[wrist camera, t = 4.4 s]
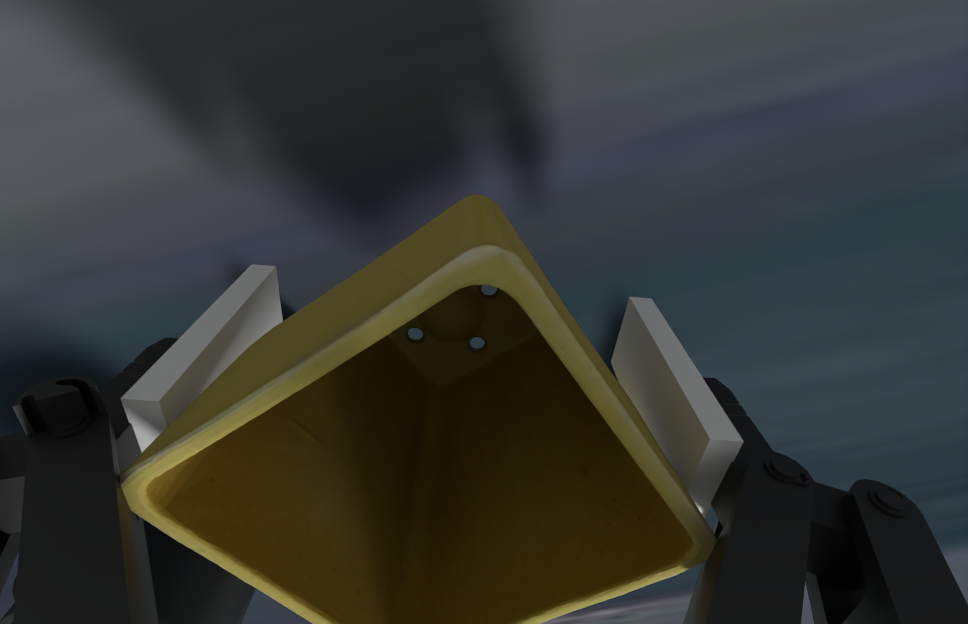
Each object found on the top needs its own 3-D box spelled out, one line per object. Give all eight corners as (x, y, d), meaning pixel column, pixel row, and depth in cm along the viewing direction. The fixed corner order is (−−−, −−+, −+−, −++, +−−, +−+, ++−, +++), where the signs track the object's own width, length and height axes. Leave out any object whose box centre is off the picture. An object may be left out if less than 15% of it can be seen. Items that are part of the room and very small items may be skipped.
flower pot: (488, 123, 14) (502, 234, 6) (620, 330, 18) (731, 563, 10) (275, 276, 16) (94, 494, 9) (430, 431, 20) (400, 682, 12)
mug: (59, 434, 27) (-115, 597, 19) (273, 442, 27) (185, 608, 19) (117, 538, 32) (-4, 702, 24) (298, 545, 32) (236, 711, 24)
